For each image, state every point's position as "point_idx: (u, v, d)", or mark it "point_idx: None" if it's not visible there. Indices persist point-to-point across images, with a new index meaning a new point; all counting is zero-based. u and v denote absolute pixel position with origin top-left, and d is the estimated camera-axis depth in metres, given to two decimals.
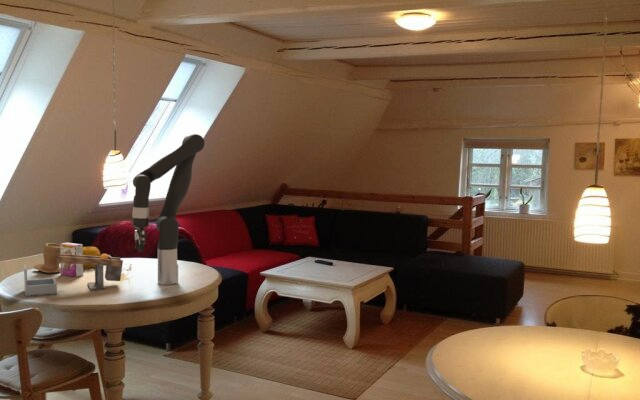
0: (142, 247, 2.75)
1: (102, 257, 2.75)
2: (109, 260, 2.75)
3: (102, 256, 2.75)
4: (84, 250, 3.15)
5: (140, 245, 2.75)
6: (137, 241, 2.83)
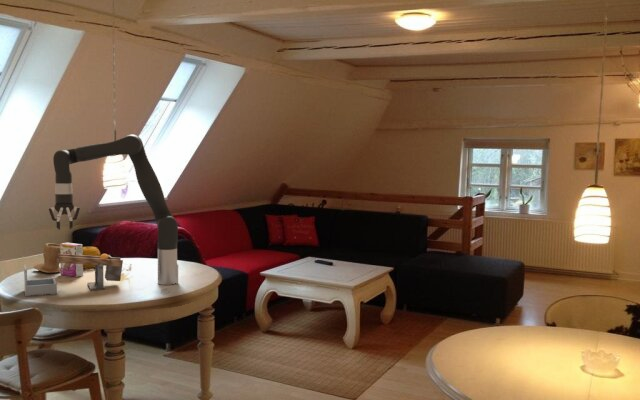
0: None
1: (102, 257, 2.75)
2: (109, 260, 2.75)
3: (102, 256, 2.75)
4: (84, 250, 3.15)
5: (71, 222, 2.76)
6: (59, 221, 2.73)
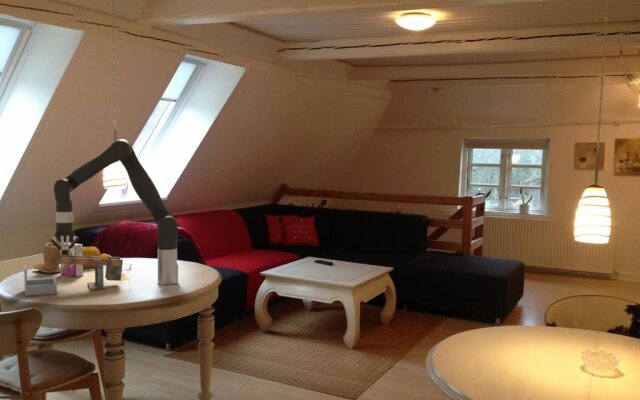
0: None
1: (102, 257, 2.75)
2: (109, 260, 2.75)
3: (102, 256, 2.75)
4: (84, 250, 3.15)
5: (67, 251, 2.76)
6: (64, 249, 2.75)
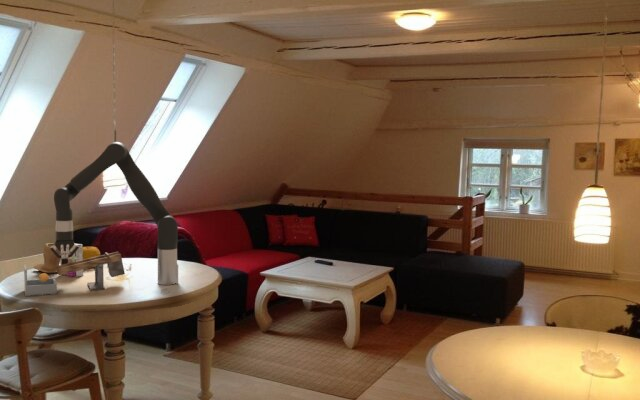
0: (67, 261, 2.77)
1: (41, 278, 2.63)
2: (107, 258, 2.74)
3: (40, 277, 2.63)
4: (84, 250, 3.15)
5: (67, 259, 2.76)
6: (64, 258, 2.76)
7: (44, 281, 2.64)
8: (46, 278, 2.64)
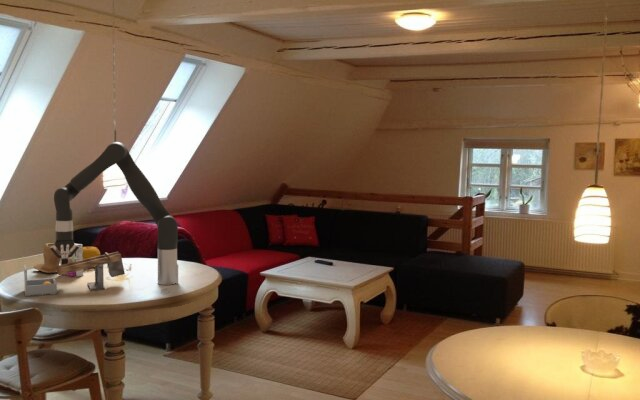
0: (67, 261, 2.77)
1: None
2: (107, 258, 2.74)
3: None
4: (84, 250, 3.15)
5: (67, 259, 2.76)
6: (64, 258, 2.76)
7: None
8: None
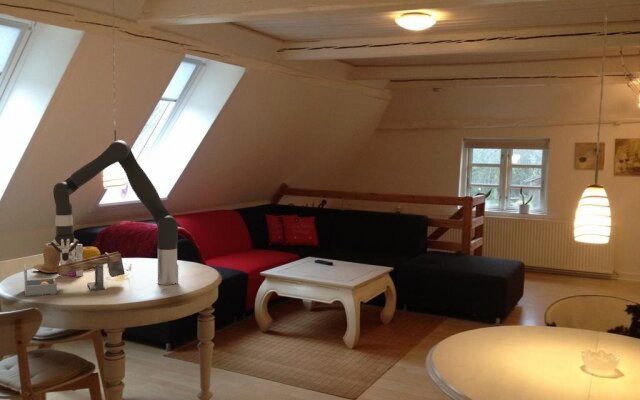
0: (68, 255, 2.77)
1: None
2: (107, 258, 2.74)
3: None
4: (84, 250, 3.15)
5: (67, 254, 2.76)
6: (64, 253, 2.76)
7: None
8: None
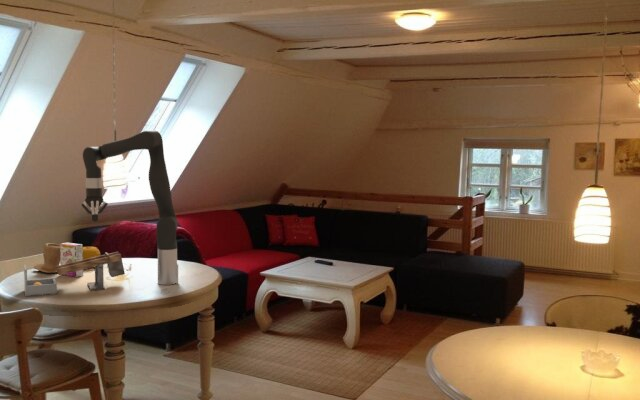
0: (97, 217, 2.92)
1: None
2: (107, 258, 2.74)
3: None
4: (84, 250, 3.15)
5: (96, 215, 2.91)
6: (94, 214, 2.91)
7: None
8: None
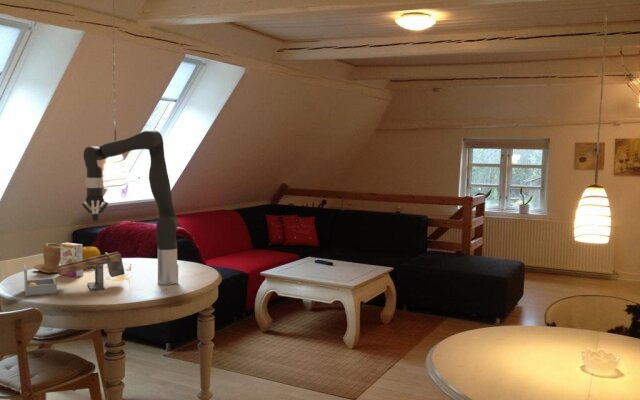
0: None
1: None
2: (107, 258, 2.74)
3: None
4: (84, 250, 3.15)
5: (97, 215, 2.91)
6: None
7: (33, 284, 2.62)
8: None
